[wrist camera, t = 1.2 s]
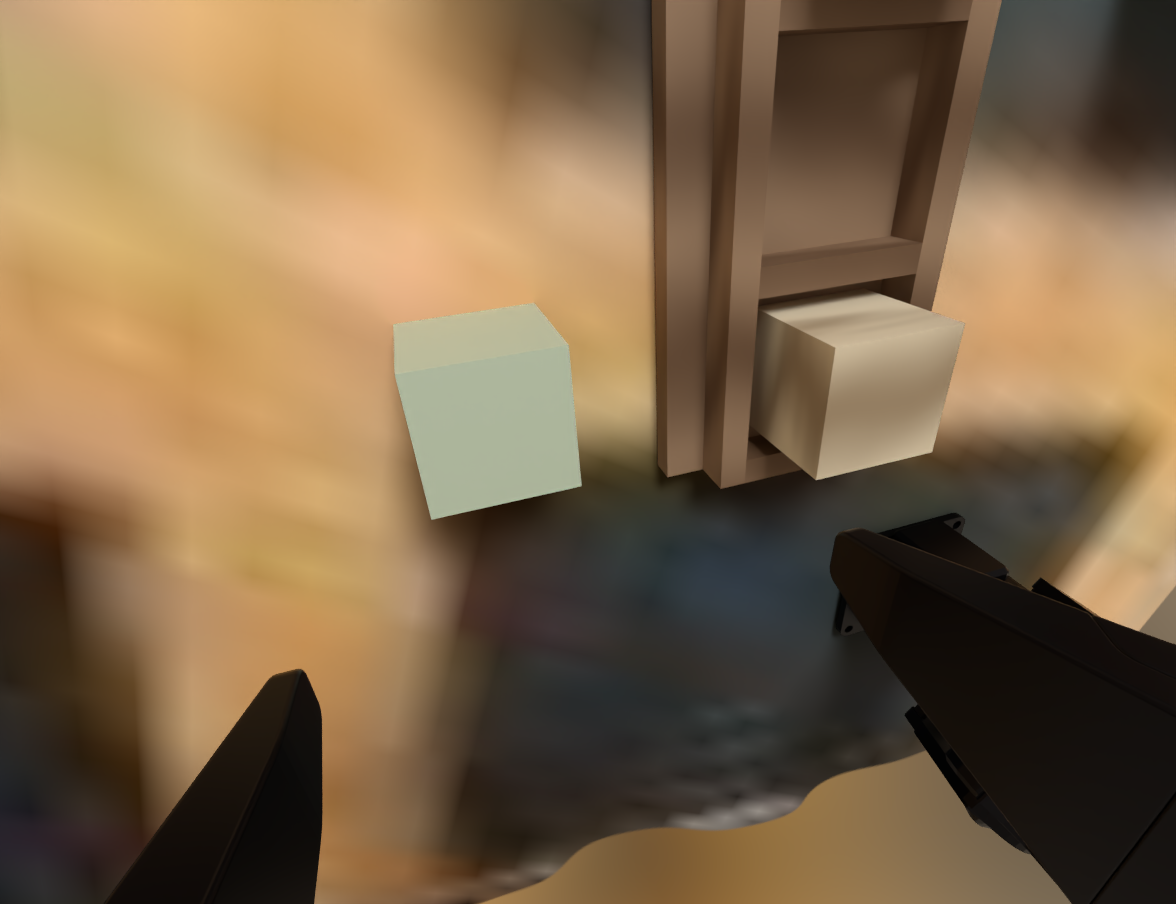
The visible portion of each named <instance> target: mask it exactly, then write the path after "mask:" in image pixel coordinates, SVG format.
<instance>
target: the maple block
mask: <svg viewBox="0 0 1176 904" xmlns="http://www.w3.org/2000/svg"><path fill="white" fill-rule="evenodd" d="M964 326H965V323H963V322H960V321H957V320H954V319H951V318H949V317H946V316H943V315H940V314H937V313H934V312H931V311H928V310H925V309H922V308H919V307H916V306H913V305H911V304H908V303H905V302H902V301H899V300H896V299H893V298H890V297H887V296H884V295H881V294H878V293H875V292H873V291H870V290H867V289H858V290H852V291H846V292H840V293H834V294H828V295H822V296H816V297H810V298H804V299H798V300H792V301H786V302H780V303H774V304H768V305H762V306H758V312H757V326H756V339H755V352H754V366H753V379H752V392H751V405H750V419H749V425H750V426H751V427H752V428H754V429H755V430H756V431H757V432H758V433H760V434H761V435H762V436H763V437H764V438H766V439H767V440H768V441H769V442H771V443H772V444H773V445H774V446H775V447H777V448H778V449H779V450H780V451H781V452H783V453H784V454H785V455H786V456H787V457H789V458H790V459H791V460H792V461H793V462H795V463H796V464H797V465H798V466H799V467H801V468H802V469H803V470H804V471H805V472H807V473H808V474H809V475H810V476H812V477H813V478H814V479H815V480H819V479H823V478H827V477H832V476H836V475H840V474H844V473H848V472H852V471H856V470H860V469H865V468H869V467H873V466H877V465H881V464H885V463H889V462H893V461H898V460H902V459H906V458H910V457H914V456H918V455H922V454H926V453H931V452H932V450H933V446H934V442H935V439H936V435H937V431H938V427H939V423H940V419H941V415H942V411H943V408H944V404H945V400H946V396H947V392H948V388H949V384H950V380H951V377H952V373H953V369H954V365H955V361H956V357H957V353H958V349H959V346H960V342H961V338H962V334H963V330H964Z"/></svg>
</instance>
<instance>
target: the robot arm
mask: <svg viewBox="0 0 1176 904" xmlns="http://www.w3.org/2000/svg"><path fill="white" fill-rule="evenodd" d="M964 524H965V519H964V518H963V517H962V516H960V515H959V514H957V513H951V514H947V515H944V516H940V517H936V518H932V519H929V520H925V521H921V522H918V523H914V524H910V525H907V526H903V527H899V528H896V529H892V530H888V531H885V532H881V533H874V532H871V531H869V530H866V529H863V528H854V529H850V530H846V531H842V532H840V533H838V535H837V536H836V538H835V542H834V547H833V552H832V557H831V562H830V573H831V577H832V579H833V581H834V583H835V584H836V586H837V588H838V589H839V591H840V592H841V594H842V599H841V604H840V609H839V614H838V619H837V624H836V629H837V630H838V631H839V632H840V634H841V635H842V636H848V635H851V634H854V633H857V632H861V631H865V632H866V634H867V636H868V637H869V639H870V640H871V642H872V643H873V645H874V646H875V648H876V649H877V651H878V652H879V654H880V655H881V656H882V658H883V659H884V660H885V662H886V663H887V664H888V666H889V667H890V668H891V670H892V671H893V672H894V674H895V675H896V676H897V677H898V679H899V680H900V681H901V683H902V684H903V685H904V687H905V688H906V689H907V690H908V692H909V693H910V694H911V696H912V697H913V698H914V700H915V701H916V702H917V703H918V705H917V706H916V707H911V708H910V709H909V710H908V711H907V712H906V713H905V717H906V718H907V720H908V721H909V723H910V724H911V725H912V727H913V728H914V730H915V731H914V733H915V734H916V736H917V737H918V739H919V740H920V742H921V743H922V745H923V746H924V748H925V749H926V750H927V752H928V753H929V755H930V756H931V758H932V759H933V761H934V762H935V763H936V765H937V766H938V768H939V769H940V771H941V772H942V774H943V775H944V777H945V778H946V779H947V781H948V782H949V784H950V785H951V787H952V788H953V790H954V791H955V792H956V794H957V795H958V797H959V798H960V800H961V801H962V803H963V804H964V806H965V808H966V810H967V811H968V813H969V815H970V817H971V818H972V819H973V820H974V821H975V822H976V823H977V824H979V825H980V826H982V827H986V828H990V829H992V830H993V831H994V832H996V833H997V834H998V835H999V836H1000V837H1001V838H1003V839H1004V840H1005V841H1007V842H1008V843H1009V844H1011V845H1012V846H1013V847H1015V848H1017V849H1019V850H1021V851H1022V852H1024V853H1027V854H1031V855H1032V856H1033V857H1034V858H1035V859H1036V861H1037V862H1038V863H1039V864H1040V865H1041V866H1042V868H1043V869H1044V870H1045V871H1046V872H1047V873H1048V875H1049V876H1050V877H1051V878H1052V879H1053V881H1054V882H1055V883H1056V884H1057V885H1058V886H1059V888H1060V889H1061V890H1062V892H1063V893H1064V894H1065V896H1066V897H1067V898H1068V899H1069V901H1070V902H1071V903H1072V904H1176V645H1175V644H1172V643H1169V642H1166V641H1164V640H1160V639H1158V638H1155V637H1152V636H1150V635H1147V634H1144V633H1141V632H1139V631H1136V630H1133V629H1130V628H1127V627H1125V626H1122V625H1119V624H1117V623H1114V622H1111V621H1109V620H1106V619H1104V618H1101V617H1099V616H1098V615H1097V614H1095V613H1094V612H1092V611H1091V610H1089V609H1088V608H1086V607H1085V606H1083V605H1082V604H1080V603H1079V602H1077V601H1076V600H1074V599H1073V598H1071V597H1070V596H1068V595H1067V594H1065V593H1064V592H1062V591H1061V590H1059V589H1057V588H1056V587H1054V586H1053V585H1051V584H1050V583H1048V582H1047V581H1045V580H1044V579H1042V578H1040V579H1039V580H1038V581H1037V582H1036V583H1035V584H1034V585H1033V586H1032V587H1033V589H1032V590H1031V591H1029V590H1027V589H1026V588H1025V587H1023V586H1022V585H1021V584H1019V583H1018V582H1016V581H1015V580H1014V579H1012V578H1011V577H1010V576H1008V574H1009V570H1008V569H1007V568H1006V567H1005V566H1004V565H1003V564H1002V563H1000V562H999V561H998V560H996V559H995V558H993V557H992V556H990V555H989V554H988V553H986V552H985V551H983V550H982V549H981V548H979V547H978V546H976V545H975V544H974V543H972V542H971V541H969V540H968V539H967V538H965V537H964V536H962V535H961V533H962V530H963V527H964ZM321 833H322V716H321V709H320V705H319V702H318V700H317V698H316V695H315V693H314V691H313V688H312V686H311V684H310V681H309V679H308V677H307V675H306V673H305V672H304V671H303V670H302V669H295V670H291V671H287V672H283V673H279V674H276V675H273V676H272V677H271V678H270V679H269V680H268V681H267V682H266V684H265V685H264V686H263V688H262V689H261V690H260V692H259V693H258V694H257V696H256V697H255V699H254V700H253V701H252V703H251V704H250V705H249V707H248V708H247V709H246V711H245V712H244V713H243V715H242V716H241V718H240V719H239V720H238V722H237V723H236V724H235V726H234V727H233V728H232V730H231V731H230V733H229V734H228V735H227V737H226V738H225V739H224V741H223V742H222V743H221V745H220V746H219V748H218V749H217V750H216V752H215V753H214V754H213V756H212V757H211V758H210V760H209V761H208V763H207V764H206V765H205V767H204V768H203V769H202V771H201V772H200V773H199V775H198V776H197V777H196V779H195V780H194V782H193V783H192V784H191V786H190V787H189V788H188V790H187V791H186V792H185V794H184V795H183V797H182V798H181V799H180V801H179V802H178V803H177V805H176V806H175V807H174V809H173V810H172V812H171V813H170V814H169V816H168V817H167V818H166V820H165V821H164V822H163V824H162V825H161V826H160V828H159V829H158V831H157V832H156V833H155V835H154V836H153V837H152V839H151V840H150V841H149V843H148V844H147V846H146V847H145V848H144V850H143V851H142V852H141V854H140V855H139V856H138V858H137V859H136V861H135V862H134V863H133V865H132V866H131V867H130V869H129V870H128V871H127V873H126V874H125V875H124V877H123V878H122V880H121V881H120V882H119V884H118V885H117V886H116V888H115V889H114V890H113V892H112V893H111V895H110V896H109V897H108V899H107V900H106V901H105V903H104V904H314V899H315V890H316V881H317V872H318V863H319V854H320V845H321Z"/></svg>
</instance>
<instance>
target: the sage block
mask: <svg viewBox="0 0 1176 904" xmlns="http://www.w3.org/2000/svg"><path fill="white" fill-rule="evenodd" d="M393 328H394V370H395V378H396V382H397V386H398V390H399V394H400V398H401V402H402V406H403V409H404V413H405V417H406V421H407V425H408V429H409V433H410V437H411V441H412V445H413V449H414V453H415V457H416V461H417V465H418V469H419V472H420V476H421V480H422V484H423V488H424V492H425V496H426V500H427V504H428V508H429V512H430V516H431V520H432V519H437V518H441V517H446V516H450V515H455V514H459V513H464V512H468V511H473V510H477V509H482V508H486V507H491V506H495V505H500V504H504V503H509V502H513V501H518V500H522V499H526V498H531V497H535V496H540V495H544V494H549V493H553V492H558V491H562V490H567V489H571V488H576V487H580V486H581V475H580V464H579V453H578V442H577V431H576V420H575V409H574V398H573V387H572V376H571V365H570V355H569V345H568V344H567V342H566V341H565V340H564V339H563V337H562V336H561V335H560V334H559V333H558V331H557V330H556V329H555V328H554V327H553V325H552V324H551V323H550V322H549V320H548V319H547V318H546V317H545V316H544V314H543V313H542V312H541V311H540V309H539V308H538V307H537V306H536V305H535V303H530V304H523V305H517V306H510V307H503V308H497V309H490V310H484V311H477V312H470V313H464V314H457V315H451V316H444V317H438V318H431V319H424V320H418V321H411V322H405V323H398V324H393Z"/></svg>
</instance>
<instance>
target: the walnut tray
mask: <svg viewBox="0 0 1176 904" xmlns="http://www.w3.org/2000/svg"><path fill="white" fill-rule="evenodd" d="M1001 1H1002V0H652V69H653V145H654V221H655V296H656V372H657V448H658V466H659V467H660V468H661V470H662V471H663V472H664V473H665V475H666V476H667V477H671V476H675V475H680V474H684V473H688V472H693V471H697V470H702V469H703V470H704V471H705V472H706V473H707V475H708V476H709V477H710V478H711V479H712V480H713V481H714V482H715V483H716V484H717V485H718V487H719V488H720V489H722V488H726V487H731V486H735V485H739V484H743V483H748V482H752V481H756V480H760V479H764V478H769V477H773V476H777V475H781V474H786V473H790V472H794V471H798V470H803V469H802V468H801V467H799V466H798V465H797V464H796V463H795V462H793V461H792V460H791V459H790V458H789V457H787V456H786V455H785V454H784V453H783V452H781V451H780V450H779V449H778V448H777V447H775V446H774V445H773V444H772V443H771V442H769V441H768V440H767V439H766V438H764V437H763V436H762V435H761V434H760V433H758V432H757V431H756V430H755V429H754V428H752V427H751V426H750V425H749V419H750V405H751V392H752V379H753V366H754V352H755V339H756V326H757V312H758V306H762V305H768V304H774V303H780V302H786V301H792V300H798V299H804V298H810V297H816V296H822V295H828V294H834V293H840V292H846V291H852V290H858V289H867V290H870V291H873V292H875V293H878V294H881V295H884V296H887V297H890V298H893V299H896V300H899V301H902V302H905V303H908V304H911V305H913V306H916V307H919V308H922V309H925V310H928V311H932V306H933V302H934V297H935V293H936V289H937V284H938V280H939V275H940V271H941V266H942V262H943V258H944V253H945V249H946V244H947V240H948V235H949V231H950V227H951V222H952V218H953V213H954V209H955V205H956V200H957V196H958V191H959V187H960V182H961V178H962V174H963V169H964V165H965V160H966V156H967V151H968V147H969V143H970V138H971V134H972V129H973V125H974V120H975V116H976V112H977V107H978V103H979V98H980V94H981V89H982V85H983V81H984V76H985V72H986V67H987V63H988V59H989V54H990V50H991V45H992V41H993V36H994V32H995V28H996V23H997V19H998V14H999V10H1000V5H1001Z"/></svg>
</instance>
